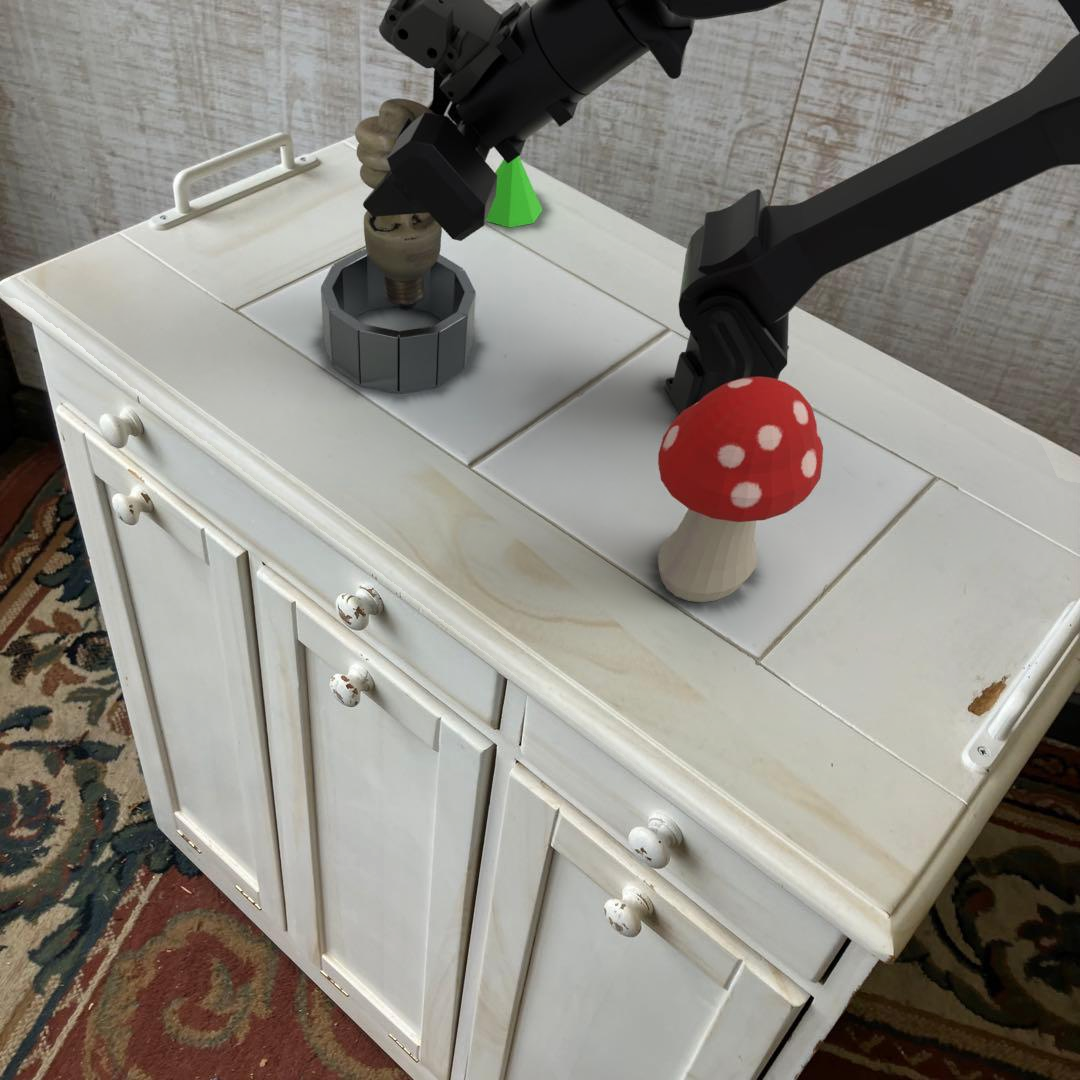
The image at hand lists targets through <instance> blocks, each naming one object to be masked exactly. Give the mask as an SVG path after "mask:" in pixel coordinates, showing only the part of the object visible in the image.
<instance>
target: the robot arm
mask: <svg viewBox="0 0 1080 1080" xmlns="http://www.w3.org/2000/svg"><path fill="white" fill-rule="evenodd" d="M787 1H789V0H538V1H536V2H535V3H534V4H532V5H531V6H530V4H529V3H528V2H527V1H524V2H523V3H521V5H520V3H519V2H518V1H516V2H515V3H514V4H512V5H511V6H509V8H507V9H506V10H505V11H503V12H502V13H500V12H499V11H498V10H496V9H494V8H493V6H491V5H490V4H488V3H487V2H486V1H485V0H391V1H390V3H389V4H388V6H387V9H386V11H385V13H384V16H383V17H382V20H381V22H380V23H379V27H378V31H379V34H380V36H381V37H382V38H383V40H384V41H386V43H388V44H390V45H391V46H392V47H394V49H396V50H397V51H398V52H399V53H402V54H403V55H404V56H406V57H408V58H409V59H411V60H412V61H414V62H415V63H416V64H418V65H420V66H422V67H423V68H424V69H434V70H433V84H432V85H433V86H432V100H431V101H430V103H429V104H428V105H427V106H426V107H427V108H429V109H430V110H431V111H433V112H434V113H435V114H432V113H426V112H425V113H423V114H422V115H421V116H420V117H418V118H417V119H416V120H415V121H413V122H412V121H411V119H410V118H408V119H407V121H406V122H405V124H404V126H403V128H402V130H401V132H400V133H399V135H398V137H397V140H396V143H395V145H394V147H393V149H392V150H391V152H390V154H389V156H388V158H387V160H388V163H389V166H390V169H391V170H390V171H389V172H388V173H387V175H386V176H385V177H384V178H383V179H382V180H381V182H380V183H379V184H378V185H377V186H376V187H375V189H373V190H372V191H371V192H370V193H369V194H368V196H367V197H366V198H365V199H364V201H363V202H362V206H363V208H364V209H365V210H366V212H367V211H368V212H369V213H370V214H371V215H372V216H374V217H379V216H391V215H404V214H417V213H429V214H430V215H431V216H432V217H433V218H434V219H435V220H436V222H437V223H438V224H439V225H440V226H441V227H442V230H443V231H444V232H445V233H446V234H447V236H449V238H451V239H452V240H454V241H459V242H462V241H463V240H465V239H466V238H468V237H470V236H471V235H473V234H474V233H475V232H477V231H478V230H480V229H482V228H483V227H484V226H485V224H486V222H487V221H486V219H487V217H488V214H489V212H490V209H491V207H492V204H493V202H494V199H495V197H496V188H497V175H496V173H495V172H496V171H494V170H493V169H492V168H491V166H490V165H489V164H488V163H487V161H486V160H487V158H488V156H489V154H490V151H491V150H492V149H495V150H496V152H497V153H498V154H499V155H500V156H501V157H502V158H503V160H505V161H506V162H507V163H510V162H511V161H512V160H514V159H515V158H517V157H518V156H519V157H520V156H521V154H522V152H523V149H524V146H525V143H526V141H527V139H528V138H530V137H531V136H533V135H534V134H536V133H537V132H538V131H540V130H542V128H544V127H545V126H547V125H548V124H550V123H551V122H552V121H553V120H554V122H555V123H556V124H557V126H558V127H559V128H561V127H562V126H563V125H565V124H567V122H569V121H571V120H572V119H573V118H574V116H575V113H576V111H577V107H578V105H579V102H580V101H582V100H583V99H584V98H586V97H587V96H588V95H590V94H591V93H592V92H594V91H595V90H597V89H598V88H599V87H601V86H602V85H604V84H605V83H606V82H608V81H609V80H610V79H612V78H613V77H614V76H617V74H619V73H620V72H621V71H623V70H624V69H626V68H627V67H629V66H630V65H632V64H633V63H634V62H636V61H637V60H638V59H640V58H642V57H643V56H644V55H646V54H647V53H648V52H650V53H651V54H652V56H653V57H654V58H655V60H656V61H657V63H658V64H659V65H660V67H661V68H662V70H663V71H664V72H665V74H666V75H667V77H669V79H671V80H676V79H679V78H680V76H681V75H682V70H683V66H684V61H685V55H686V50H687V45H688V42H689V40H690V39H691V37H692V36H693V32H694V26H695V23H696V21H699V20H709V19H710V20H711V19H715V18H716V19H717V18H722V17H729V16H736V15H743V14H748V13H755V12H760V11H764V10H767V9H769V8H771V7H774V6H777V5H780V4H782V3H785V2H787ZM1057 1H1058V3H1059V4H1060V6H1061V7H1062V9H1063V10H1064V12H1065V13H1066V14H1067V16H1068V17H1069V19H1070V21H1071V23H1073V25H1074V27H1075V28H1076V30H1077V31H1078V34H1076V35H1075V36H1074V37H1072V38H1071V39H1070V40H1069V41H1068V42H1067V43H1066V44H1065V45H1064V47H1062V48H1061V50H1060V51H1058V52H1057V54H1055V56H1054V57H1053V58H1052V59H1051V60H1050V61H1049V62H1048V63H1047V64H1046V65H1045V66H1044V67H1043V69H1041V71H1039V73H1038V74H1037V75H1036V76H1035V77H1034V78H1033V79H1032V80H1031V81H1030V82H1028V84H1026V85H1024V86H1023V87H1022V88H1021V89H1019V90H1017V91H1015V92H1012V93H1011V94H1009V95H1007V96H1005V97H1003V98H1001V99H1000V100H998V101H995V102H994V103H992V104H990V105H988V106H986V107H983V108H982V109H980V110H978V111H976V112H974V113H972V114H971V115H968V116H966V117H964V118H962V119H960V120H958V121H957V122H955V123H953V124H951V125H949V126H947V127H945V128H943V129H941V130H939V131H937V132H935V133H933V134H931V135H929V136H927V137H926V138H924V139H922V140H919V141H918V142H916V143H914V144H912V145H910V146H908V147H906V148H904V149H902V150H900V151H898V152H896V153H895V154H892V155H890V156H889V157H887V158H885V159H883V160H881V161H879V162H878V163H877V162H876V163H875V164H873V165H871V166H870V167H868V168H867V167H866V168H865V169H864V170H862V171H859V172H858V173H856V174H854V175H852V176H850V177H848V178H846V179H844V180H843V181H840V182H838V183H837V184H835V185H833V186H831V187H829V188H827V189H825V190H822V191H821V192H819V193H817V194H816V195H815V194H814V195H813V196H811V197H809V198H807V199H806V200H804V201H801V202H798V203H795V204H784V205H783V204H782V205H781V204H780V205H777V204H776V205H767V203H766V200H765V197H764V194H763V192H762V190H760V188H757V189H754V190H751V191H749V192H747V193H746V194H745V195H743V196H742V197H741V198H739V199H738V200H737V201H736V202H734V203H732V204H731V205H730V206H727V207H725V208H722V209H720V210H714V211H713V210H712V211H707V212H706V213H704V215H705V216H704V221H703V225H701V227H699V228H698V229H696V230H695V231H694V233H693V234H692V235H691V236H690V239H689V242H688V244H687V249H686V251H685V257H684V263H683V269H682V270H683V271H682V277H681V284H680V290H679V291H680V292H679V298H678V314H679V315H678V316H679V317H680V319H681V322H682V324H683V326H684V328H686V329H687V330H688V331H689V335H688V340H687V343H686V347H685V351H681V352H680V354H679V356H678V360H677V364H676V367H675V372H674V375H673V377H667V378H666V379H665V381H664V388H665V389H666V391H667V393H668V394H669V398H670V399H671V401H672V402H673V404H674V406H675V407H676V409H677V411H678V412H679V415H680V414H681V412H682V411H683V410H685V409H687V408H689V407H690V406H692V405H694V404H695V403H697V402H699V401H700V400H701V399H702V398H703V397H704V396H705V395H707V394H708V393H709V392H711V391H713V390H715V389H716V388H718V387H720V386H722V385H724V384H726V383H728V382H731V381H734V380H738V379H741V378H747V377H768V378H774V379H777V380H779V378H780V375H781V372H782V371H783V370H784V369H785V368H786V367H787V365H788V356H789V355H788V354H789V353H788V352H789V349H790V346H789V316H790V315H789V314H790V312H791V311H792V310H793V309H794V308H795V307H796V306H797V305H798V304H799V302H801V300H803V298H805V297H806V295H807V294H808V293H809V292H810V291H811V290H812V289H813V287H815V286H816V284H818V282H819V281H820V280H822V279H824V277H826V276H828V275H829V274H831V273H833V272H835V271H837V270H839V269H842V268H844V267H846V266H849V265H850V264H853V263H854V262H857V261H858V260H861V259H863V258H866V257H867V256H869V255H871V254H874V253H876V252H878V251H880V250H882V249H885V248H887V247H889V246H891V245H893V244H895V243H897V242H899V241H901V240H903V239H905V238H908V237H910V236H912V235H914V234H916V233H918V232H921V231H922V230H925V229H927V228H929V227H931V226H933V225H936V224H937V223H939V222H942V221H944V220H946V219H948V218H950V217H952V216H954V215H956V214H959V213H961V212H963V211H965V210H967V209H969V208H971V207H974V206H975V205H977V204H980V203H982V202H984V201H986V200H988V199H990V198H993V197H995V196H997V195H999V194H1001V193H1003V192H1006V191H1008V190H1009V189H1012V188H1014V187H1016V186H1018V185H1020V184H1022V183H1024V182H1026V181H1029V180H1031V179H1033V178H1035V177H1037V176H1039V175H1042V174H1043V173H1046V172H1048V171H1050V170H1054V169H1056V168H1059V167H1064V166H1065V167H1066V166H1080V0H1057Z"/></svg>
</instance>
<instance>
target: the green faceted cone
mask: <svg viewBox="0 0 1080 1080" xmlns="http://www.w3.org/2000/svg"><path fill="white" fill-rule="evenodd" d="M494 172H495V173H496V175H497V188H496V197H495V199H494V202H493V204H492V207H491V209H490V212H489V214H488V217H487V219H486V222H489V223H492V224H496V225H499V226H502V227H505V228H515V227H520V226H526V225H532V224H534V223H535V221H536V220H537V219H538V218H539V216H540V215H541V213H542V212H543V208H542V206H541V203H540V200H539V199H538V196H537V194H536V192H535V189H534V186H533V185H532V183H531V180H530V178H529V176H528V174H527V171H526V169H525V166H524V164H523V162H522V159H521V157H520V155H519V156H518V157H517V158H515V159H514V160H512V161H511V162H510V163H507V162H506V161H505V160H504V159H502V161H501V163H500V164H499V166H498V168H497V169H496V170H495V171H494Z"/></svg>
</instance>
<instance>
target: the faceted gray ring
mask: <svg viewBox="0 0 1080 1080" xmlns="http://www.w3.org/2000/svg"><path fill="white" fill-rule="evenodd" d="M384 288H385V286H384V280H383V274H382V273H381V272H380V270H379V269H378V268H377V267H376V266H375V265H374V264H373V262H372V261H371V260H370V258H369V256H368V253H367V250H366V248H365V249H361V250H358V251H356V252H354V253H352V254H349V255H348V256H346V257H344V258H343V259H341V260H339V261H337V262H335V263H334V264H333V265H331V268H330V269H329V271H328V273H327V274H326V277H325V278H324V280H323V282H322V284H321V286H320V300H321V313H322V331H323V344H324V348H325V350H326V353H327V356H328V360H330V364H331V367H333V369H334V370H336V371H338V372H339V373H340V374H341V375H343V376H345V377H346V378H348V379H349V380H350V381H352V382H353V383H355V384H356V385H357V386H360V387H362V388H367V389H372V390H377V391H382V392H387V393H393V394H398V393H399V394H408V393H415V392H419V391H420V392H421V391H425V390H432V389H433V390H434V389H436V388H439V387H440V386H442V385H443V384H445V383H447V382H448V381H449V380H452V379H453V378H454V377H456V376H457V375H459V374H461V373H462V372H463V371H464V370H465V368H466V365H467V364H468V360H469V357H470V354H471V352H472V348H473V338H474V326H475V325H474V323H475V309H476V290H475V288H474V286H473V284H472V281H471V279H470V278H469V276H468V274H467V272H466V269H464V268H463V267H461V266H460V265H458V264H456V263H455V262H454V261H452V260H450V259H448V258H447V257H445V256H443V255H442V254H439V257H438V259H437V261H436V263H435V264H434V265H433V266H432V267H431V268H430V269H429V270H428V271H427V272H426V274H425V276H424V291H425V294H424V297H423V299H421V300H420V301H419V302H417V303H416V306H415V307H413V308H411V309H410V310H416V311H421V312H426V313H430V314H431V315H433V316H435V317H436V318H438V319H439V320H441V321H439V322H438V323H436V324H434V325H432V326H426V327H425V326H424V327H418V328H412V329H411V328H410V329H403V330H395V329H390V328H384V327H381V326H379V327H378V326H375V325H369V324H365V323H363V322H361V321H360V320H358V319H357V317H359V316H361V315H362V314H364V313H366V312H368V311H372V310H381V309H389V308H395V307H400V306H399V305H396V304H393V303H391V302H389V301H388V300H387V299H386V297H385V289H384Z"/></svg>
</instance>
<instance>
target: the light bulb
mask: <svg viewBox="0 0 1080 1080" xmlns="http://www.w3.org/2000/svg"><path fill="white" fill-rule="evenodd" d="M425 112H426V113H432V114H435V113H434V112H433V111H431V110H430V109H429V108H427V106H426V105H424V104H422V103H420V102H418V101H414V100H411V99H406V98H399V97H398V98H391V99H387V100H385V101H383V103H381V105H380V107H379V110H378V115H374V116H370V117H366V118H364V119H362V120H361V121H359V123H358V124H357V125H356V127H355V130H354V136H355V139H356V141H357V143H358V145H357V147H356V157H357V159H358V161H359V162H360V163H361V164H362V165H361V166H360V169H359V176H360V179H361V180H362V182H363V183H364V184H365V185H366V186H367V187H369V188H371V189H373V190H374V189H375V187H376V186H377V185H378V184H379V183H380V182H381V180H382V179H383V178H384V177H385V176H386V175H387V173H388V172H389V171H390V170H391V169H390V166H389V163H388V160H387V158H388V156H389V154H390V152H391V150H392V149H393V147H394V145H395V143H396V140H397V137H398V135H399V133H400V132H401V130H402V128H403V126H404V124H405V122H406V121H407V119H408V118H410V119H411V121H412V122H413V121H415V120H416V119H417V118H418V117H420V116H421V115H422V114H423V113H425ZM363 234H364V235H363V236H364V243H365V249H366V250H367V253H368V256H369V258H370V260H371V261H372V262H373V264H374V265H375V266H376V267H377V268H378V269H379V270H380V272H381V273H382V274H383V280H384V286H385V288H384V289H385V297H386V299H387V300H388V301H389V302H391V303H393V304H396V305H399V306H398V307H399V308H400V309H401V310H402V311H408V310H412V309H411V308H413V307H415V306H416V303H417V302H419V301H420V300H421V299H423V297H424V294H425V291H424V276H425V274H426V272H427V271H428V270H429V269H430V268H431V267H432V266H433V265H434V264H435V263H436V261H437V259H438V257H439V254H440V253H441V248H442V235H443V228H442V227H441V226H440V225H439V224H438V223H437V222H436V220H435V219H434V218H433V217H432V216H431V215H430V214H429V213H417V214H404V215H391V216H379V217H374V216H372V215H371V214H370V213H369V212H368V211H367V210H366V212H365V213H364V215H363ZM440 255H441V254H440Z"/></svg>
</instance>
